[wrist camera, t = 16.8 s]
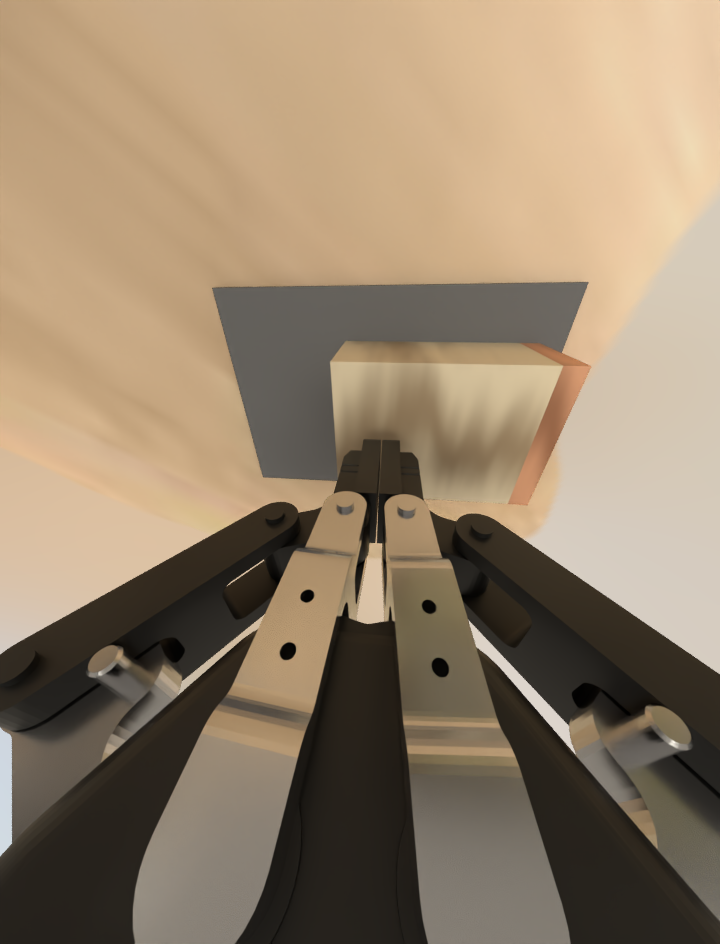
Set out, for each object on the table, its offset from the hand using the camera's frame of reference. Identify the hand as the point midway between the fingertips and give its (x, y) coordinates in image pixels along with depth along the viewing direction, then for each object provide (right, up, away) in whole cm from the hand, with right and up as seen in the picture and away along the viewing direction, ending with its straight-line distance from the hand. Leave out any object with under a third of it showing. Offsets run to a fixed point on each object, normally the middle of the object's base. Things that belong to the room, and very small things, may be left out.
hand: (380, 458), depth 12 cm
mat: (+1, +4, +5) cm, 6 cm away
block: (-2, +2, +3) cm, 4 cm away
